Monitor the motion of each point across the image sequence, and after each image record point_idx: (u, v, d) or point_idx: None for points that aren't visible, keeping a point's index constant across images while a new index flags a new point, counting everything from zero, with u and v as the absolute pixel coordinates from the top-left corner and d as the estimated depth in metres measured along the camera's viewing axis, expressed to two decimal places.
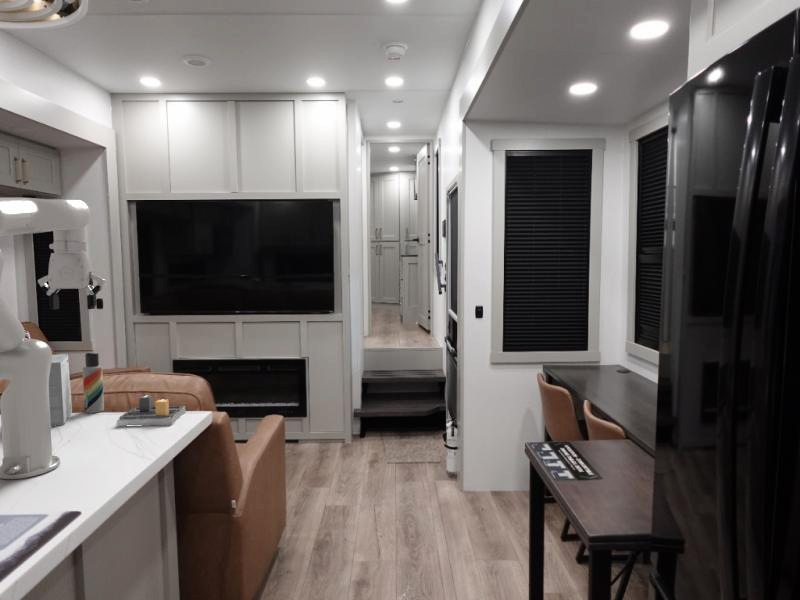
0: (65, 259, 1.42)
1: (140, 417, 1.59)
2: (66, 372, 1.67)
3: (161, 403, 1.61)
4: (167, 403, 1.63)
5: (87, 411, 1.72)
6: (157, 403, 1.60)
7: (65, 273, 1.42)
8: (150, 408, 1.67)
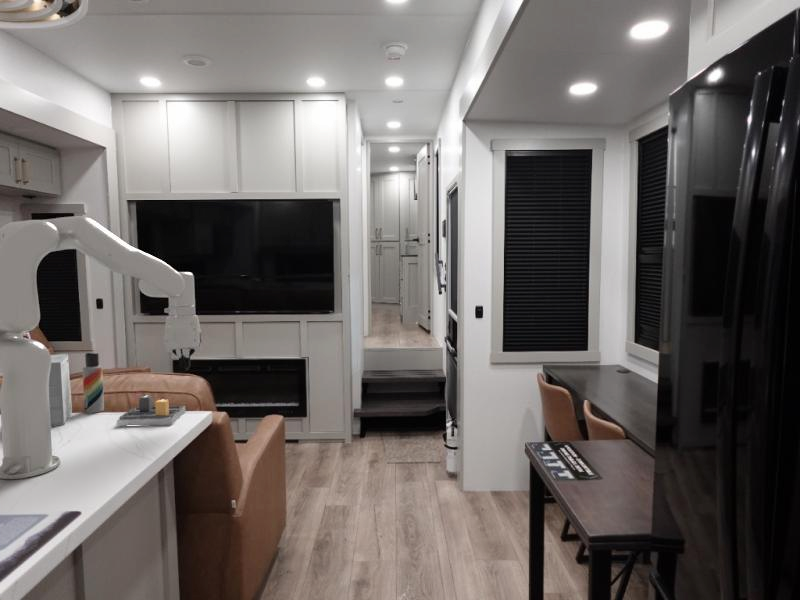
0: (180, 322, 1.58)
1: (140, 417, 1.59)
2: (66, 372, 1.67)
3: (161, 403, 1.61)
4: (167, 403, 1.63)
5: (87, 411, 1.72)
6: (157, 403, 1.60)
7: (179, 335, 1.59)
8: (150, 408, 1.67)
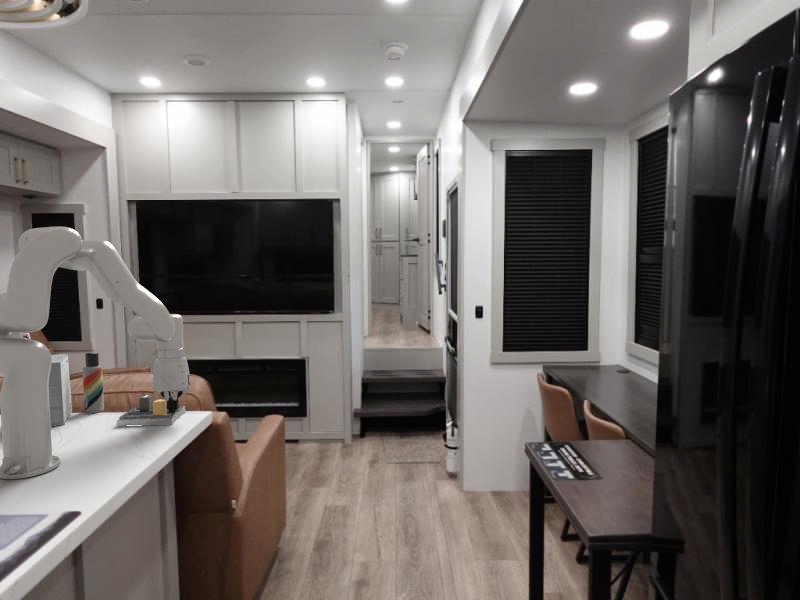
0: (168, 365, 1.59)
1: (140, 417, 1.59)
2: (66, 372, 1.66)
3: (158, 403, 1.61)
4: (164, 403, 1.63)
5: (87, 411, 1.72)
6: (154, 403, 1.60)
7: (167, 378, 1.59)
8: (150, 408, 1.67)
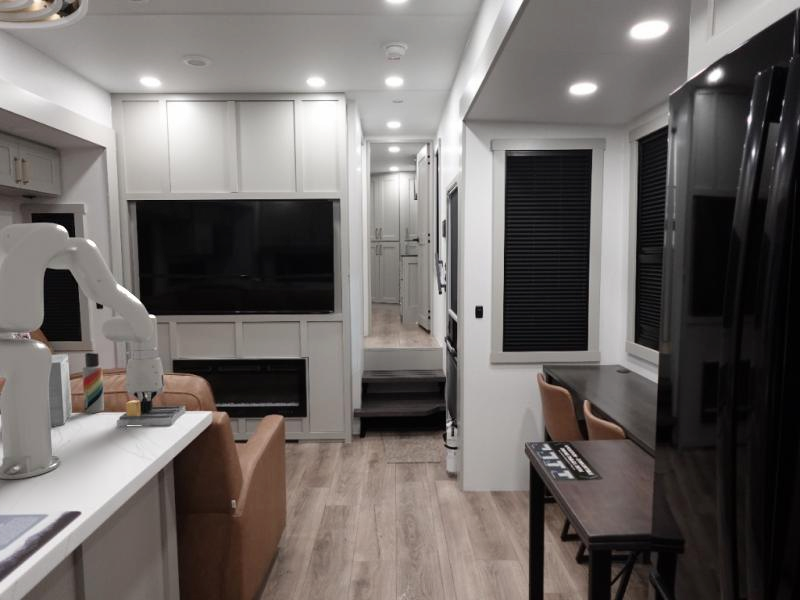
0: (141, 366, 1.58)
1: (140, 417, 1.59)
2: (66, 372, 1.66)
3: (132, 404, 1.60)
4: (138, 404, 1.62)
5: (87, 411, 1.72)
6: (128, 404, 1.60)
7: (141, 378, 1.58)
8: None
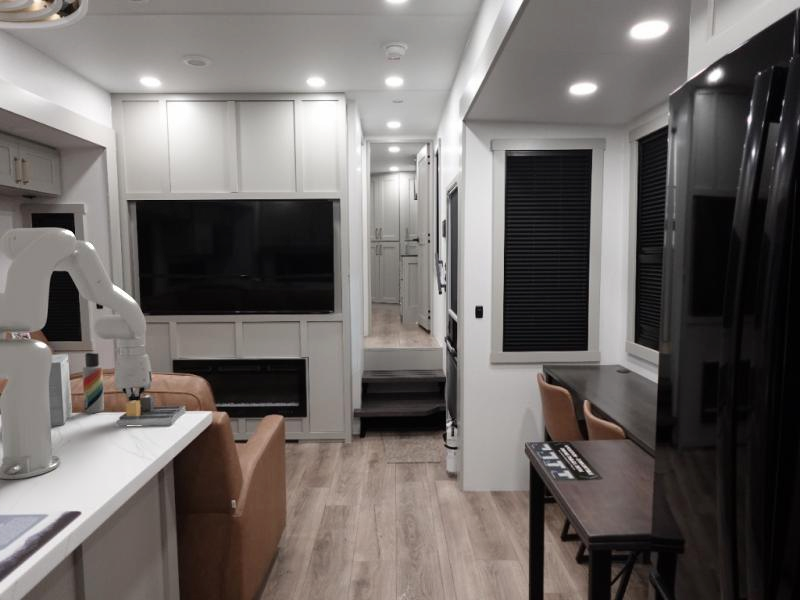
0: (129, 362, 1.63)
1: (140, 417, 1.59)
2: (66, 372, 1.67)
3: (132, 404, 1.60)
4: (138, 404, 1.62)
5: (87, 411, 1.72)
6: (128, 404, 1.60)
7: (129, 374, 1.63)
8: (151, 408, 1.67)
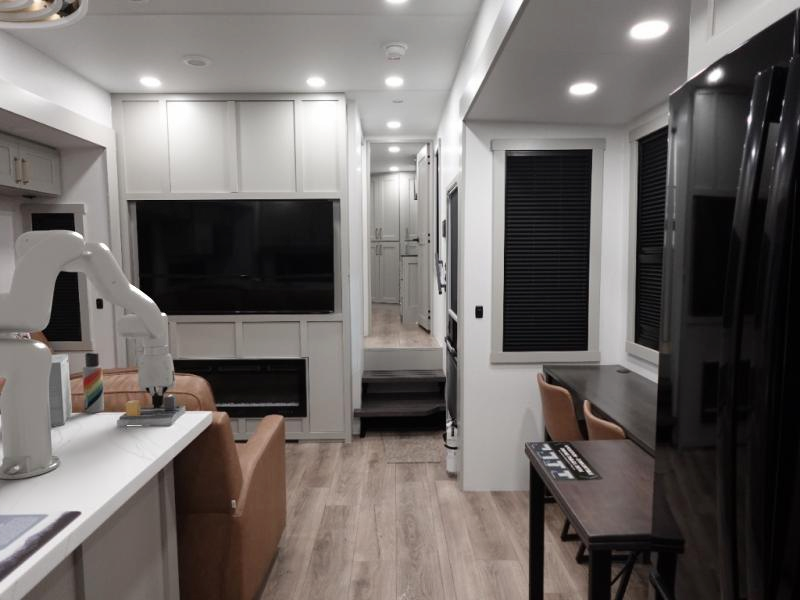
0: (153, 362, 1.64)
1: (140, 417, 1.59)
2: (66, 372, 1.67)
3: (132, 404, 1.60)
4: (138, 404, 1.62)
5: (87, 411, 1.72)
6: (128, 404, 1.60)
7: (153, 374, 1.64)
8: (174, 407, 1.68)
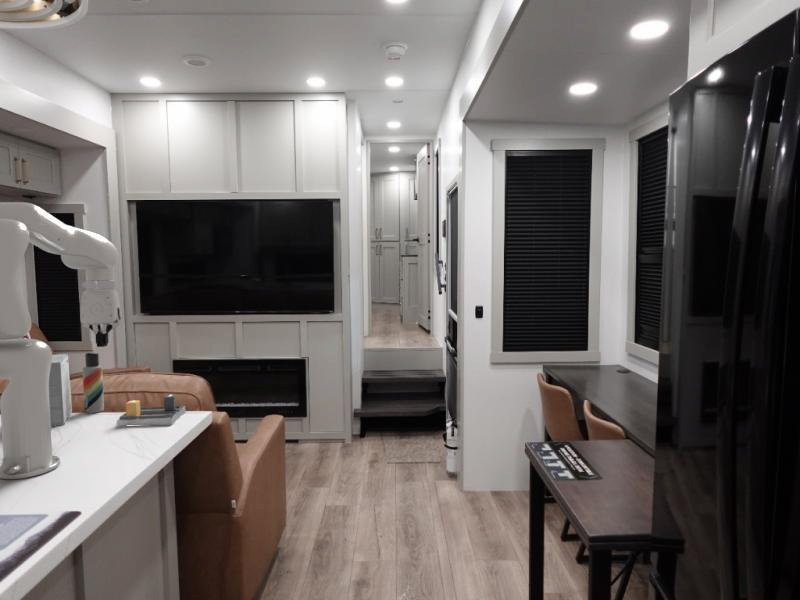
0: (96, 296, 1.55)
1: (140, 417, 1.59)
2: (66, 372, 1.66)
3: (132, 404, 1.60)
4: (138, 404, 1.62)
5: (87, 411, 1.72)
6: (128, 404, 1.60)
7: (95, 309, 1.55)
8: (175, 407, 1.68)
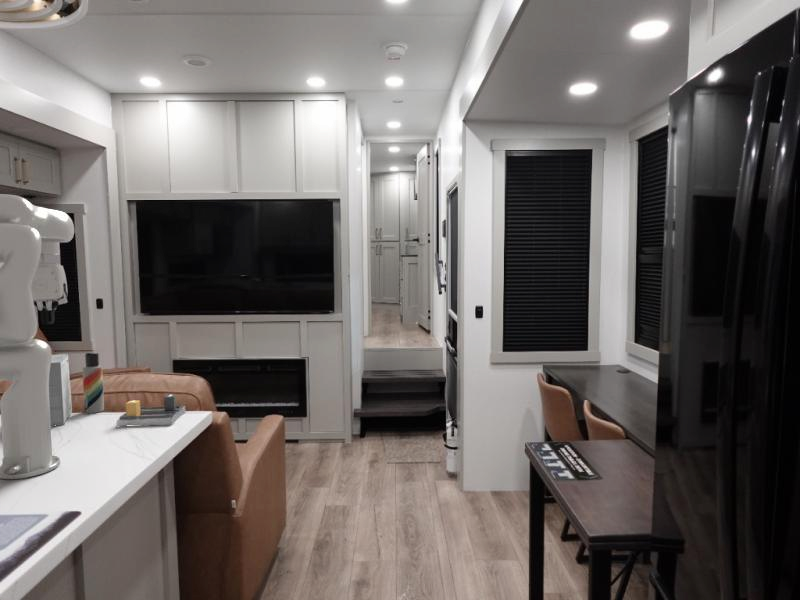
0: (39, 271, 1.47)
1: (140, 417, 1.59)
2: (66, 372, 1.67)
3: (132, 404, 1.60)
4: (138, 404, 1.62)
5: (87, 411, 1.72)
6: (128, 404, 1.60)
7: (39, 285, 1.48)
8: (175, 407, 1.68)
